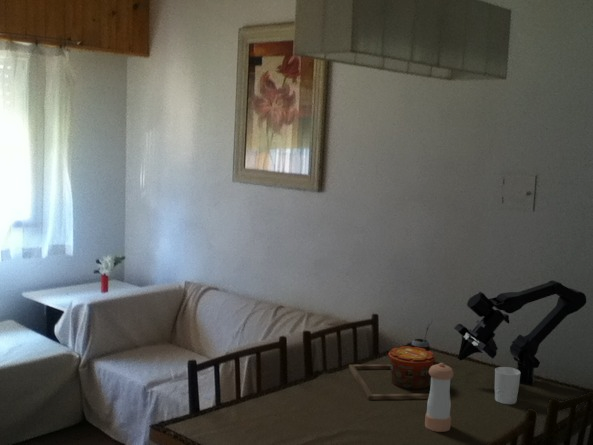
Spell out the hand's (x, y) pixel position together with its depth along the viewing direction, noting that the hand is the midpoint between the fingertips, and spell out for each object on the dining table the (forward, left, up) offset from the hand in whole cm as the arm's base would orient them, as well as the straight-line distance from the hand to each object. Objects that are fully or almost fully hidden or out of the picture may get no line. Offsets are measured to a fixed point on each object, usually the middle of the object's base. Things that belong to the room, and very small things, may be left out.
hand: (459, 359), depth 240 cm
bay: (+13, -17, -8) cm, 23 cm away
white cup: (+6, +18, -9) cm, 21 cm away
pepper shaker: (+39, +8, -9) cm, 41 cm away
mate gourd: (-14, -20, -9) cm, 26 cm away
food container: (+10, -13, -9) cm, 19 cm away
